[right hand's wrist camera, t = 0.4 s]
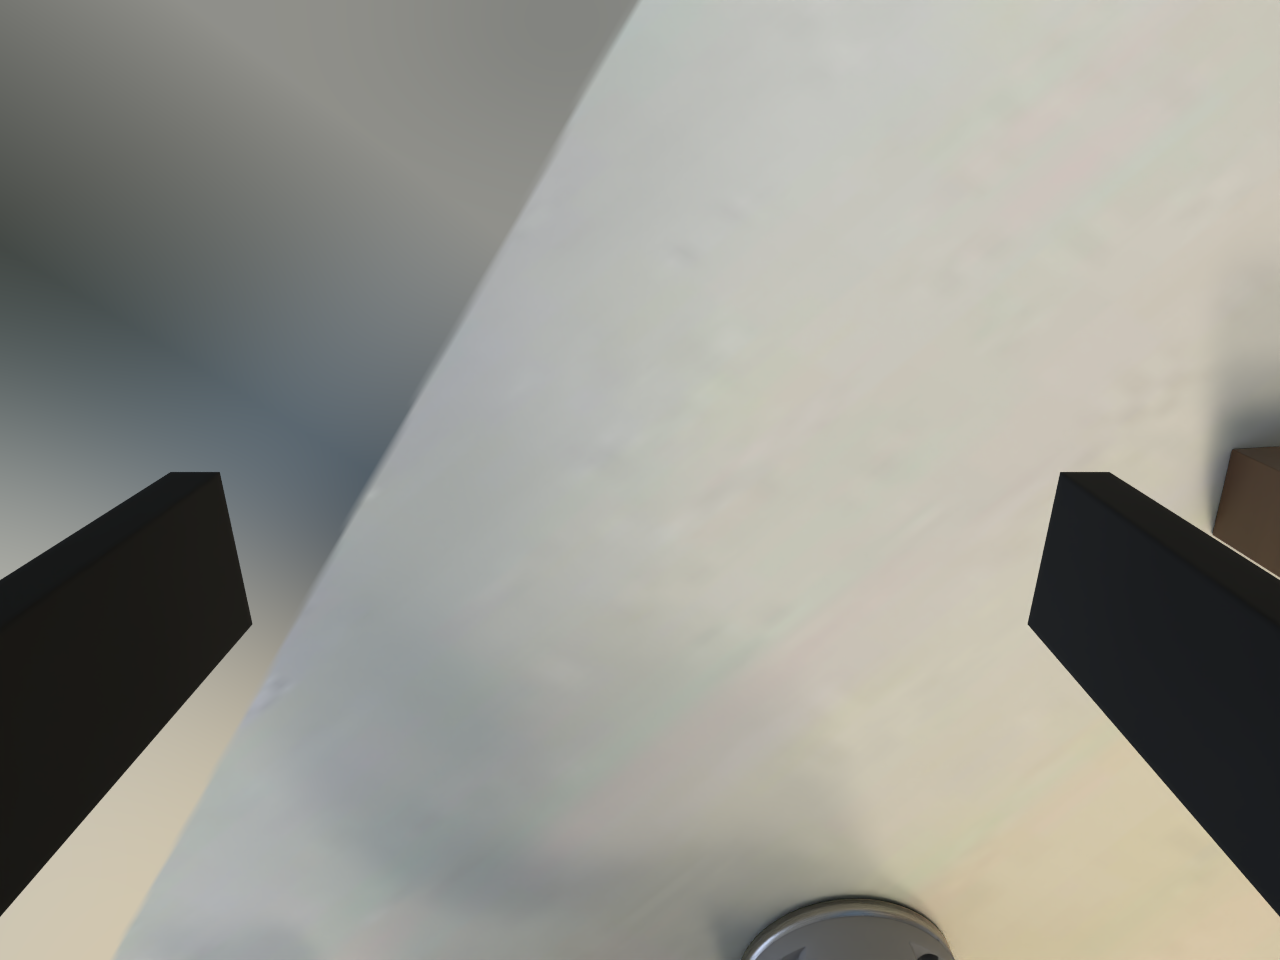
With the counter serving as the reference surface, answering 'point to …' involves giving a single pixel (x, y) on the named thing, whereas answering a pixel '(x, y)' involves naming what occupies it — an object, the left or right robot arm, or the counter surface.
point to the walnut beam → (1252, 506)
